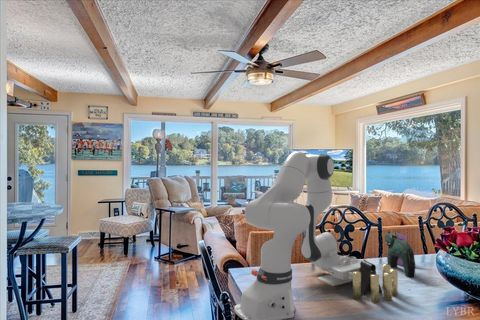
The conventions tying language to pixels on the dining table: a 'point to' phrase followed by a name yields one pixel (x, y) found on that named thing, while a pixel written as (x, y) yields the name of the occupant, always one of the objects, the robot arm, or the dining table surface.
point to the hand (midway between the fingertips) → (367, 275)
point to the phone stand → (367, 277)
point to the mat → (333, 280)
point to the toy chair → (404, 239)
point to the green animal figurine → (400, 253)
